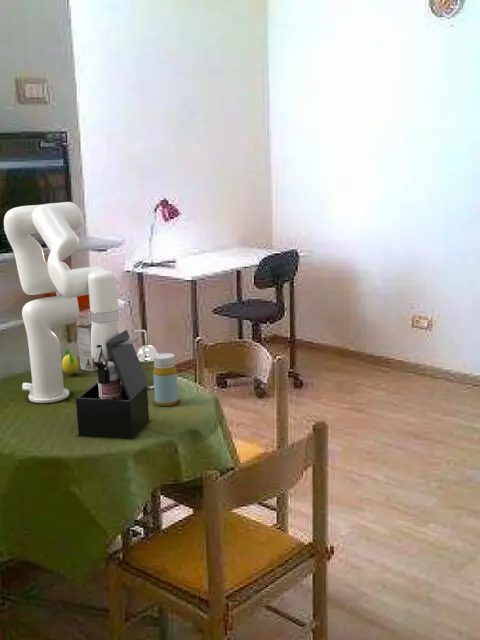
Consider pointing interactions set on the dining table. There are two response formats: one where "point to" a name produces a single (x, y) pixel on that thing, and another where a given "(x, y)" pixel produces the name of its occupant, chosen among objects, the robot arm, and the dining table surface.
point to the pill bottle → (111, 385)
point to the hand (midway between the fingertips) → (109, 379)
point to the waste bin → (111, 414)
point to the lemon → (69, 363)
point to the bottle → (165, 379)
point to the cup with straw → (147, 360)
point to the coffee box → (86, 347)
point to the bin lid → (127, 363)
